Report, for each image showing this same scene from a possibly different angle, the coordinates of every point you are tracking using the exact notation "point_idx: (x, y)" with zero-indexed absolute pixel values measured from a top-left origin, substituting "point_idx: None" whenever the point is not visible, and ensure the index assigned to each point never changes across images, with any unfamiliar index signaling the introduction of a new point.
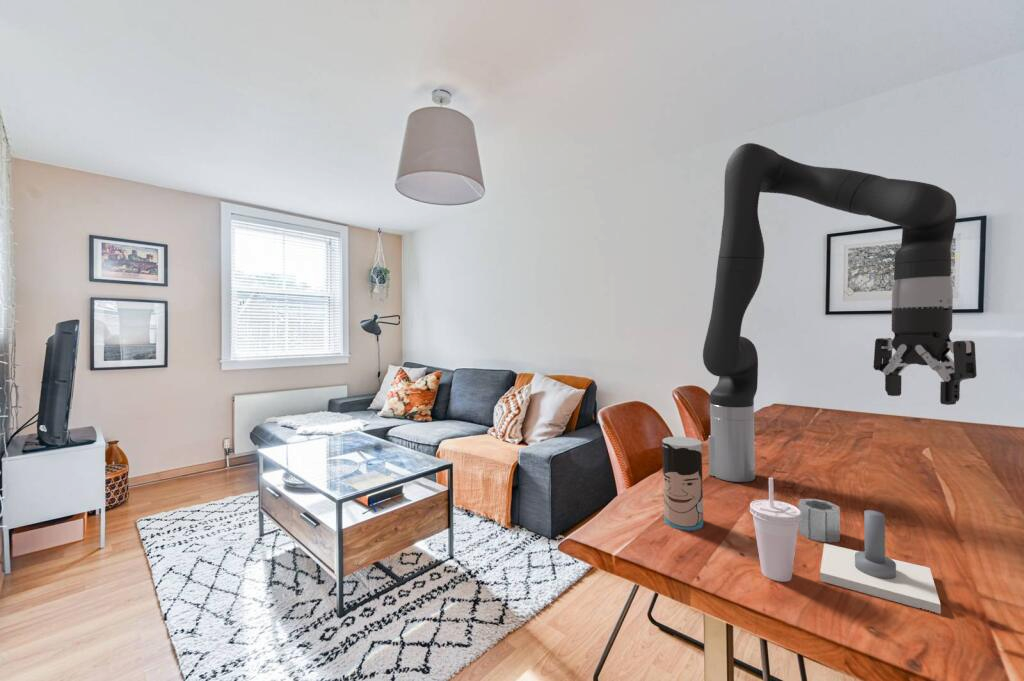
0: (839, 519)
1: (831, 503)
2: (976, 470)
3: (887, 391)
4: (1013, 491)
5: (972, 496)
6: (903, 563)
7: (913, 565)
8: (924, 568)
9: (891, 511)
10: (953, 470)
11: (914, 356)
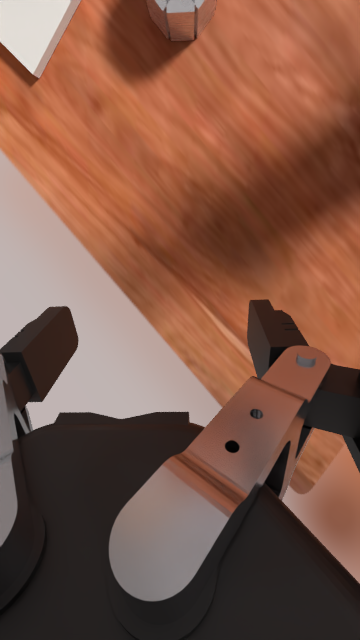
0: (152, 6)
1: (183, 7)
2: (305, 458)
3: (268, 302)
4: None
5: None
6: (42, 36)
7: (38, 51)
8: (28, 60)
9: (234, 239)
10: (316, 441)
11: (111, 466)
